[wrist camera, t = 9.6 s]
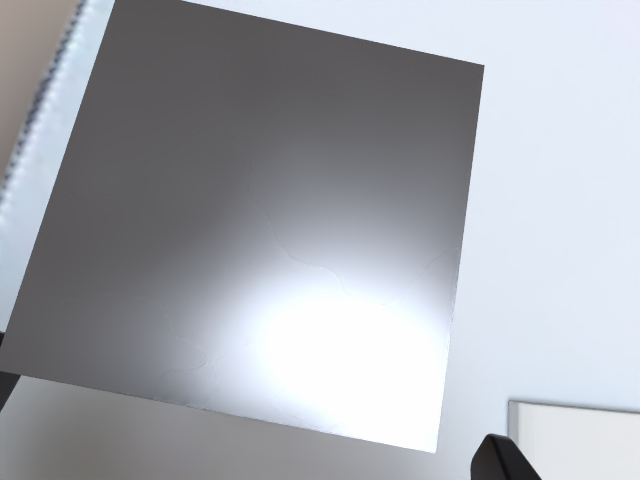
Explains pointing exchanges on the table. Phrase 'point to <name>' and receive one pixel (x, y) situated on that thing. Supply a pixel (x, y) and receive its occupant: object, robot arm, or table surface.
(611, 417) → the external hard drive
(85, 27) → the table surface
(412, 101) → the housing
